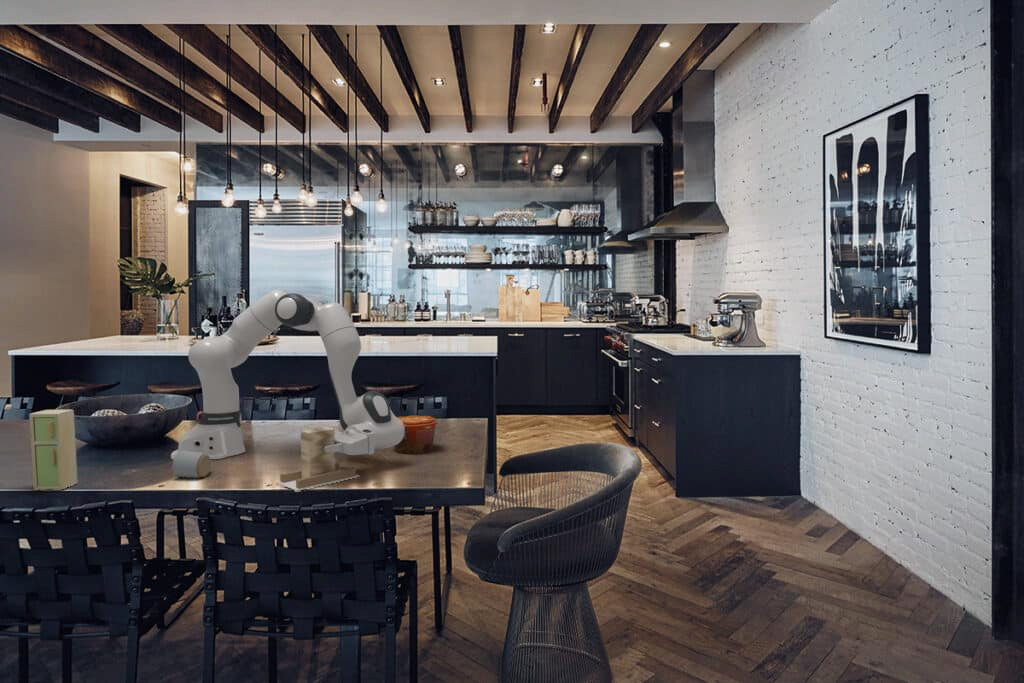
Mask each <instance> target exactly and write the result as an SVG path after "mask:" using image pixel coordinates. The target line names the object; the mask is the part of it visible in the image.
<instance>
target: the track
mask: <svg viewBox="0 0 1024 683" xmlns="http://www.w3.org/2000/svg"><path fill="white" fill-rule="evenodd" d="M356 472H357V468H356V467H349V468H344V469H340V462H336V461H335V471H334V472H329V473H324V474H320V475H315V476H311V477H306V478H302V469H297V470H294V471H288V472H284V473H279V475H280V476H279V477H280V481H276V482H275V484H276V483H277V484H280V485H283V486H285V487H288V488H291V489H293V490H294V491H293V492H295V493H299V492H302V491H301V490H303V489H306V488H311V487H316V486H321V485H325V486H327V485H326V484H329V485H332V484H331V483H334V484H337V483H336V482H338V483H341V482H340V481H342V482H344V481H343V480H347V481H349V480H348V479H351V480H353V479H352V478H355V479H357V478H356V477H359V476H360V477H361V475H360V474H357V473H356ZM360 477H359V478H360ZM277 484H276V485H277ZM285 487H284V488H285ZM321 487H322V486H321ZM316 488H317V487H316Z"/></svg>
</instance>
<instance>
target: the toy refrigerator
mask: <svg viewBox="0 0 1024 683" xmlns="http://www.w3.org/2000/svg"><path fill="white" fill-rule="evenodd" d="M28 417H29V418H28V419H29V432H30V433H29V434H30V437H29V438H30V449H31V450H30V451H31V453H30V454H31V468H32V470H31V472H32V486H33V487H32V488H33V490H34V489H53V490H52V491H63V490H62V489H64V490H66V489H68V488H67V487H69V488H71V487H74V486H75V484H76V485H77V484H78V464H77V448H76V447H77V446H76V431H75V430H76V428H75V411H74V409H44V410H40V411H36V412H31V413H29V414H28ZM70 486H71V487H70ZM65 488H66V489H65Z"/></svg>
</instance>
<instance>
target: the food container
mask: <svg viewBox="0 0 1024 683" xmlns="http://www.w3.org/2000/svg"><path fill="white" fill-rule="evenodd" d="M396 417H397V416H396ZM397 418H398V419H400V420H401V421H402V422H403V424H404V428H405V432H404V437H403V439H402V440H401V442H400V443H398V444H397V445H395V446H393V447H394V451H395V452H397V453H400V454H406V455H407V454H409V455H413V454H414V455H415V454H416V453H417V454H424V452H425V453H429V452H431V451H432V450H433V449H434V439H435V430H436V425H437V424H438V420H436V418H435V417H432V416H429V415H423V416H422V415H421V416H420V415H408V416H403V415H402V416H398V417H397ZM428 451H429V452H428Z"/></svg>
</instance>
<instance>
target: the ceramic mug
mask: <svg viewBox="0 0 1024 683" xmlns="http://www.w3.org/2000/svg"><path fill="white" fill-rule="evenodd" d="M171 469H172V473H173V475H174V476H175V477H176V478H180V477H183V479H184V477H185V479H202V478H201V477H203V478H205V477H206V476H207V475H208V474H209V473H210V472H212V469H213V468H212V459H210V457H209V455H207V454H205V453H200V452H191V451H179V452H178V453H177V454H176V455H175V457H174V460H173V459H172V468H171Z"/></svg>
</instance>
